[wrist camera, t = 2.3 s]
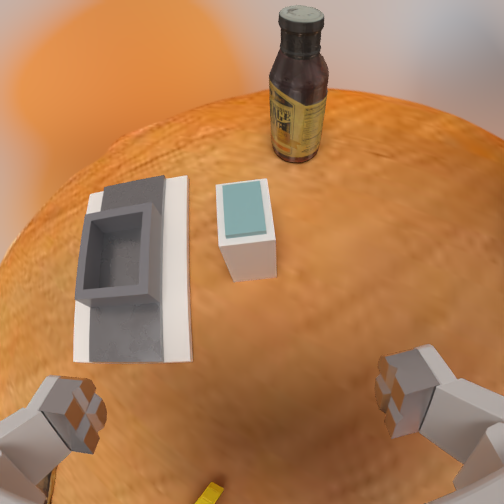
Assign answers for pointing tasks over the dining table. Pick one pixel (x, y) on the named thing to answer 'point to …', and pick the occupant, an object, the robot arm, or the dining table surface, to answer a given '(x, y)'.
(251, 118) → the dining table surface
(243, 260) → the module block
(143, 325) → the rail holder
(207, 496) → the watch
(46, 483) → the shard
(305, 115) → the sauce bottle
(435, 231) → the dining table surface
